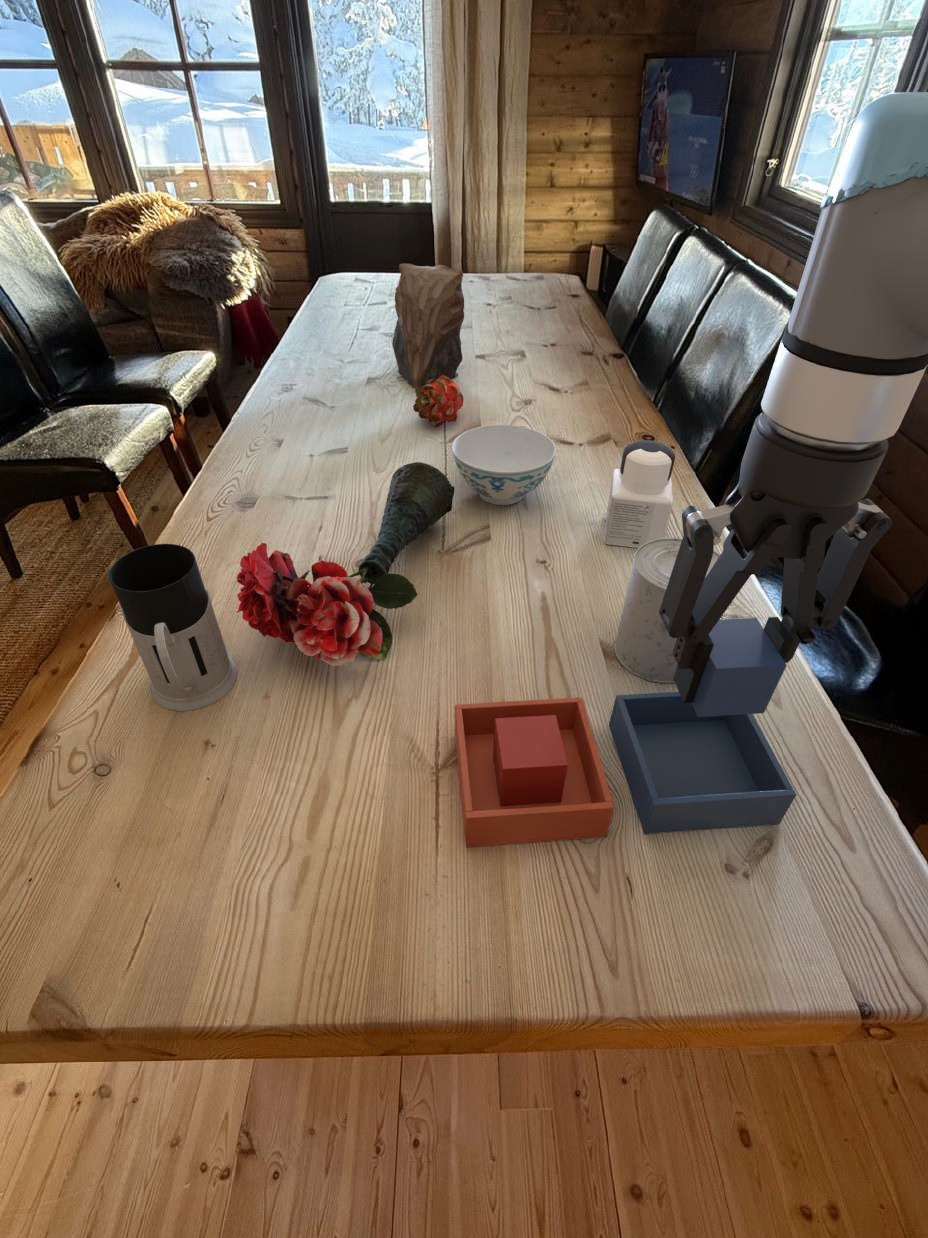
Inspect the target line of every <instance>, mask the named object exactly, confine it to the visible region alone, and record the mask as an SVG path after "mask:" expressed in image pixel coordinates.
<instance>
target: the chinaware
mask: <svg viewBox="0 0 928 1238" xmlns="http://www.w3.org/2000/svg"><path fill="white" fill-rule="evenodd" d="M451 449H452V456H453V459H454V463H455V466H456V469H457V471H458V473H459V475H460V476H461V477H462V479H463V481H464V482H465V483H466V484H467V485H468V486H469V487H470V488H471V489H472V490H474V492H476V493H478V494H479V496H480V498H481V499H482V500H484V501H486V502H487V503H490V504H492V505H498V506H509V505H513V504H516V503H518V502H520V501H521V500H522V499H523V498H524V496H525V495H527V494H529V493H531V492H532V491H534V490H535V489H536V488H538V487H539V486H540V484H542V482H543V481H544V480H545V479H546V478H547V475H548V474H549V472H550V470H551V468H552V466H553V463H554V461H555V458H556V454H557V447H556V445H555V443H554V441H553V440H552V439H551V438H550V437H549V436H548V435H546V434H544V433H542V432H540V431H538V430H536V429H533V428H529V427H525V426H521V425H514V424H487V425H482V426H477V427H473V428H470V429H467V430H466V431H464V432H462V433H460V434H459V435H458V436H456V438H454V440H453V442H452V446H451Z"/></svg>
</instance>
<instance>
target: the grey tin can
mask: <svg viewBox="0 0 928 1238" xmlns="http://www.w3.org/2000/svg"><path fill="white" fill-rule="evenodd" d="M682 539H683V538H676V537H664V538H662V539H655V540H652V541H649V542H647V543H645V544H643V545H641V546H640V547H639V548H636V550H635V552H634V554H633V558H632V559H633V560H632V561H633V562H632V567H631V572H630V576H629V580H628V585H627V589H626V590H627V591H626V593H625V594H626V595H625V598H624V602H623V608H622V612H621V616H620V620H619V626H618V630H617V634H616V639H615V641H614V647H613V649H614V653H615V656H616V658H617V660H618V662H619V663H620V665H621V666H623V668H625V669H626V670H627V671H628V672H630V674H632V675H634V676H636V677H638V678H640V679H643V680H646V681H648V682H652V683H658V684H675V682H674V680H673V678H674V675H675V672H676V666H677V663H676V660H675V658H674V656H673V649H674V646H675V644H676V640H677V638H672V637H670V635H669V633H668V631H667V629H666V627H665V625H664V623H663V621H662V619H661V616H660V614H659V610H660V607H661V604H662V601H663V598H664V595H665V591H666V588H667V585H668V582H669V579H670V576H671V573H672V570H673V567H674V564H675V560H676V557H677V554H678V551H679V548H680V545H681V542H682ZM720 555H721V553H720V552H718V551H716V550H715V549H714V551H713V556H712V560H711V563H710V566H709V568H708V571H707V574H706V576H707V575H708V573H709V572H710V570H711V568H712V567H713V565H714V564H715V562H716V561H717V559H718V558H719V556H720ZM706 576H705V578H706Z"/></svg>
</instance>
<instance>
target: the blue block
mask: <svg viewBox="0 0 928 1238" xmlns="http://www.w3.org/2000/svg"><path fill="white" fill-rule="evenodd" d="M709 636H710V638H711V640H712V641H713V643H714V646H713V649H712V652H711V654H710V657H709V659H708V662H707V664H706V667H705V670H704V673H703V676H702V678H701V681H700V684H699V687H698V689H697V692H696V695H695V698H694V700H693V703H692V705H693V707H694V709H695V711H696V714H697V716H698V717H708V716H725V715H742V714H753V715H756V714H764V713H765V712H766V710H767V709H768V706H769V704H770V702H771V700H772V697H773V695H774V693H775V691H776V689H777V687H778V685H779V683H780V681H781V679H782V676H783V674H784V672H785V670H786V668H787V663H785V662H784V660H783V659H782V657H781V655H780V654H779V652H778V651H777V649H776V648H775V646H774V645H773V643H772V641H771V640H770V638H769V637H768V635H767V634H766V632H765V630H764V627H763V626H762V624H761V623H760V621H759V619H758V618H757V617H740V618H739V617H738V618H720V619H719V621H718V622H717V624H716V625H715V626H714V628H713V629H712V631H711V632H710V633H709ZM677 666H678V665H677ZM677 666H676V669H677Z"/></svg>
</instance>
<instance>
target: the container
mask: <svg viewBox="0 0 928 1238" xmlns="http://www.w3.org/2000/svg"><path fill="white" fill-rule="evenodd" d="M675 461H676V453H675V451H674V450H673V449H672V448H671V447H670V446H669V445H667V444H664V443H662V442H659V441H656V440H650V439H643V440H635V441H631V442H629V443H628V444H627V445H626V446H625V447H623V452H622V457H621V462H620V468H615V469H614V470H613V474H612V479H611V485H610V490H609V495H608V496H609V497H608V502H607V508H606V512H605V525H604V537H603V542H604V544H605V545H611V546H617V547H625V548H633V549H635V548H636V549H638V548H639V547H640V546H641V545H643V544H645V543H647V542H649V541H652V540H655V539H662V538H666V533H667V529H668V525H669V521H670V516H671V513H672V509H673V505H674V501H673V499H674V498H673V482H672V474H673V468H674V465H675Z"/></svg>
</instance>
